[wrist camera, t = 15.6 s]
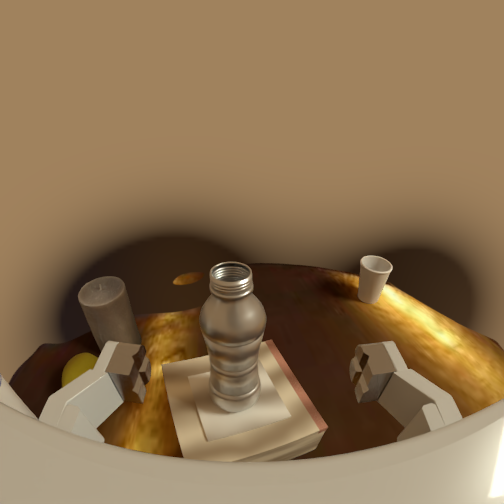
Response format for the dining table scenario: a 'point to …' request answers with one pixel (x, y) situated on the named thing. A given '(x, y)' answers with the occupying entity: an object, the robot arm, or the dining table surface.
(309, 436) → the riser block
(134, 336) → the pillar candle
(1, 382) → the cylindrical container
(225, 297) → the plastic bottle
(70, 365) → the lemon
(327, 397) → the dining table surface
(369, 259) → the dixie cup
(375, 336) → the dining table surface
